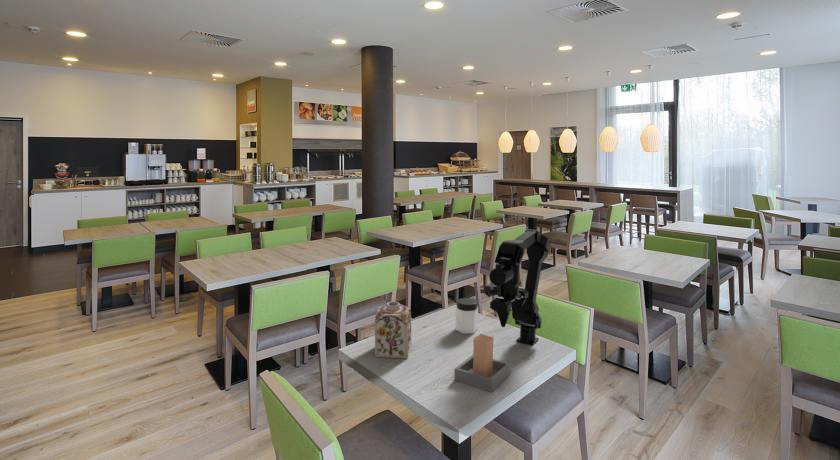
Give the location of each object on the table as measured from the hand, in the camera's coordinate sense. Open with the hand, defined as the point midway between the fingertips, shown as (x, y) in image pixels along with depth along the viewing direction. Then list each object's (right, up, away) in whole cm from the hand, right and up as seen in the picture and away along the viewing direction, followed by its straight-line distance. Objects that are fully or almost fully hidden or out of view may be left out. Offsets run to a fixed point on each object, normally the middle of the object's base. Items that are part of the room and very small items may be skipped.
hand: (508, 322), depth 158 cm
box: (-11, -15, -11) cm, 21 cm away
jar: (-12, -9, +27) cm, 31 cm away
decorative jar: (-40, -12, +8) cm, 42 cm away
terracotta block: (-11, -14, -11) cm, 21 cm away
